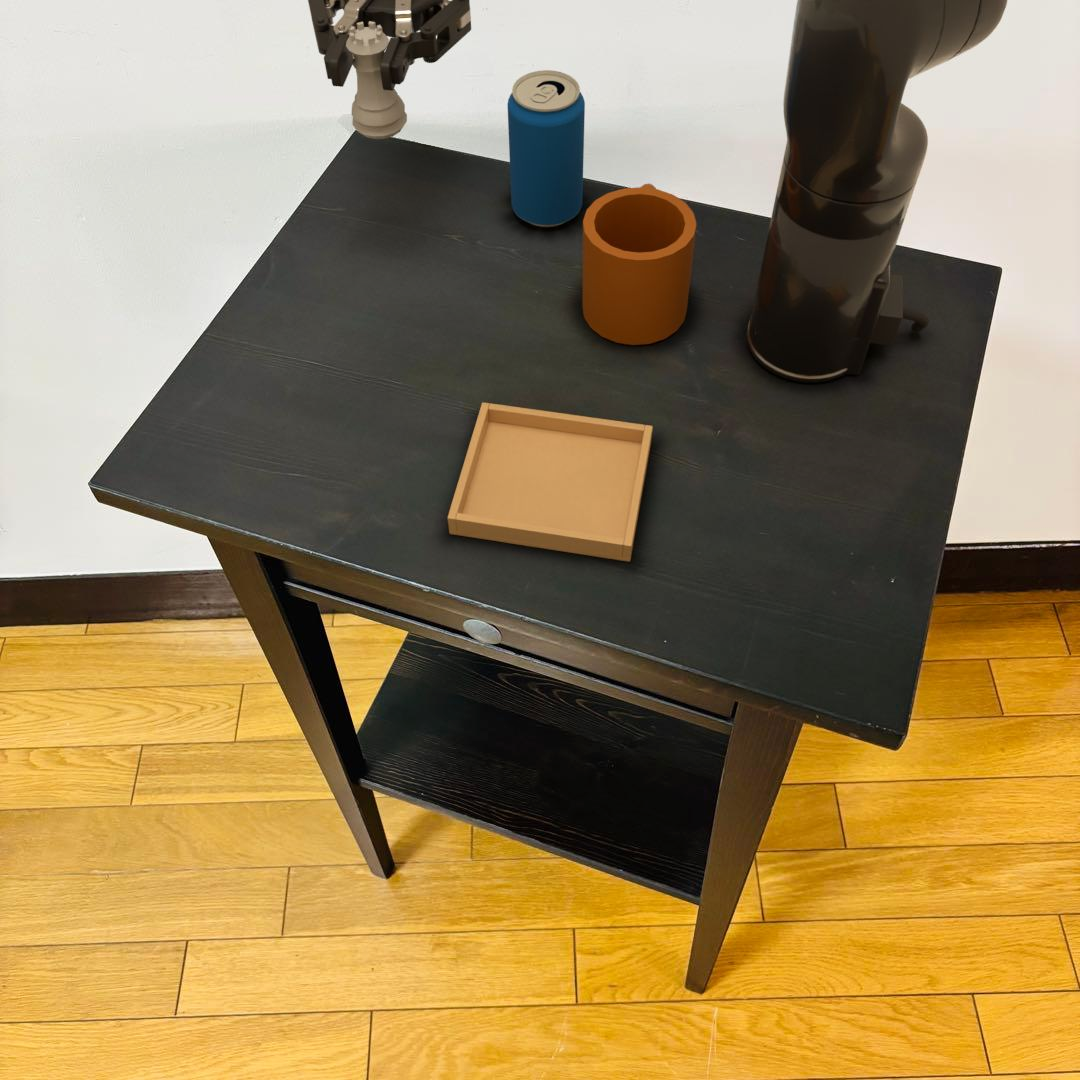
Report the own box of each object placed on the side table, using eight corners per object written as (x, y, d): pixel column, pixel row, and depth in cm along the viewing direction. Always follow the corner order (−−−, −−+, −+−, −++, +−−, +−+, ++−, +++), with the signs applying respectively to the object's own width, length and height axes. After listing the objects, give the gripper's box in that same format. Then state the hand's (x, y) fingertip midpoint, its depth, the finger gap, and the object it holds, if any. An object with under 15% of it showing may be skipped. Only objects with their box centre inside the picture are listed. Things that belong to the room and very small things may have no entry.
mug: (711, 266, 93) (724, 178, 86) (667, 358, 87) (677, 272, 79) (614, 241, 95) (619, 153, 88) (565, 329, 89) (565, 242, 81)
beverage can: (595, 202, 98) (599, 81, 88) (558, 241, 95) (558, 121, 85) (536, 179, 100) (534, 59, 90) (498, 216, 97) (491, 96, 87)
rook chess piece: (412, 136, 85) (400, 41, 79) (357, 146, 85) (340, 51, 78) (402, 104, 88) (389, 10, 81) (348, 113, 87) (331, 19, 80)
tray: (651, 442, 82) (653, 425, 80) (630, 562, 75) (631, 546, 74) (483, 419, 83) (482, 401, 82) (449, 534, 77) (447, 517, 75)
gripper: (320, -94, 87) (258, 23, 77) (490, -84, 85) (448, 36, 76) (335, -4, 93) (280, 115, 83) (495, 7, 92) (457, 129, 82)
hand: (361, 77), depth 80 cm, fingers closed on rook chess piece, 3 cm apart
